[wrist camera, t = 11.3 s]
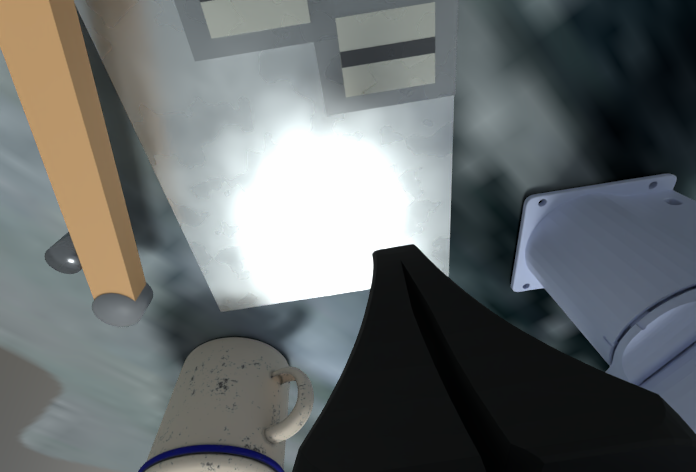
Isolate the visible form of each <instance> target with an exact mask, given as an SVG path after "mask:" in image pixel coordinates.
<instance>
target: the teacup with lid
mask: <svg viewBox="0 0 696 472" xmlns="http://www.w3.org/2000/svg"><path fill="white" fill-rule="evenodd" d="M290 381H296V382H297V386H298V398H297V402H296V405H295V407H294V409H293V410H292V412H291V413H290V414H289V415H288V417H287V413H288V399H289V385H290ZM313 400H314V394H313V387H312V384H311V382H310V380H309V378H308V377H307V375H306V374H305V373H303V372H302V371H301V370H300V369H298V368H296V367H289V365H288V363H287V361H286V359H285V358H284V356H283V355H282V354H281V353H280V352H279V351H277V350H276V349H275V348H273V347H272V346H270V345H268V344H266V343H263V342H261V341H258V340H254V339H249V338H242V337H226V338H219V339H215V340H212V341H209V342H206V343H204V344H202V345H200V346H198V347H197V348H196V349H194V350H193V351H192V352H191V353H190V354H189V355H188V357H187V358H186V360H185V362H184V364H183V367H182V370H181V372H180V375H179V378H178V380H177V383H176V385H175V388H174V391H173V393H172V396H171V399H170V401H169V404H168V406H167V409H166V412H165V414H164V417H163V420H162V422H161V425H160V427H159V430H158V433H157V435H156V438H155V441H154V443H153V446H152V448H151V451H150V454H149V456H148V459H147V462H146V463H145V464H144V465H143V466H142V467H141V468H140V470H139V471H138V472H284V470H283V469H284V455H285V441H286V439H288V438H290V437H291V436H293V435H294V434H296V433H297V432H298V431H299V430H300V429H301V428H302V427H303V425H304V424H305V423H306V421H307V419H308V418H309V416H310V413H311V411H312V407H313Z"/></svg>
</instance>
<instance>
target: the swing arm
mask: <svg viewBox="0 0 696 472" xmlns="http://www.w3.org/2000/svg"><path fill="white" fill-rule="evenodd" d="M0 47H1V50H2V52H3V55H4V58H5V60H6V63H7V66H8V69H9V71H10V74H11V77H12V79H13V82H14V85H15V87H16V90H17V93H18V96H19V98H20V101H21V104H22V106H23V109H24V112H25V114H26V117H27V120H28V123H29V125H30V128H31V131H32V133H33V136H34V139H35V141H36V144H37V147H38V150H39V152H40V155H41V158H42V160H43V163H44V166H45V168H46V171H47V174H48V177H49V179H50V182H51V185H52V187H53V190H54V193H55V195H56V198H57V201H58V203H59V206H60V209H61V212H62V214H63V217H64V220H65V222H66V225H67V228H68V230H69V233H70V236H71V239H72V241H73V244H74V247H75V249H76V252H77V255H78V257H79V260H80V263H81V266H82V268H83V271H84V274H85V276H86V279H87V282H88V284H89V287H90V290H91V293H92V295H93V298H94V302H93V304H92V310H93V312H94V314H95V315H96V317H97V318H99V319H100V320H101V321H103V322H104V323H106V324H109V325H112V326H116V327H129V326H133V325H135V324H137V323H138V322H139V321H140V319H141V317H142V316H143V314H144V312H145V311H146V309H147V307H148V305H149V304H150V302H151V300H152V298H153V291H152V289H151V287H150V286H149V285H148V284H147V283H146V281H145V277H144V274H143V270H142V266H141V262H140V258H139V254H138V250H137V246H136V242H135V238H134V234H133V230H132V227H131V223H130V219H129V215H128V211H127V207H126V203H125V199H124V195H123V191H122V187H121V183H120V179H119V176H118V172H117V168H116V164H115V160H114V156H113V152H112V148H111V144H110V140H109V136H108V132H107V128H106V125H105V121H104V117H103V113H102V109H101V105H100V101H99V97H98V93H97V89H96V85H95V81H94V78H93V74H92V70H91V66H90V62H89V58H88V54H87V50H86V46H85V42H84V38H83V34H82V30H81V27H80V23H79V19H78V15H77V11H76V7H75V3H74V0H0Z"/></svg>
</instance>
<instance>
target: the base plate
mask: <svg viewBox="0 0 696 472" xmlns="http://www.w3.org/2000/svg"><path fill="white" fill-rule="evenodd" d="M74 3H75V5H76V7H77V9H78V12H79V14H80V16H81V18H82V20H83V22H84V24H85V26H86V28H87V30H88V33H89V35H90V37H91V39H92V41H93V43H94V45H95V47H96V49H97V52H98V54H99V56H100V58H101V60H102V62H103V64H104V66H105V68H106V71H107V73H108V75H109V77H110V79H111V81H112V83H113V85H114V87H115V89H116V92H117V94H118V96H119V98H120V100H121V102H122V104H123V106H124V108H125V111H126V113H127V115H128V117H129V119H130V121H131V123H132V125H133V127H134V130H135V132H136V134H137V136H138V138H139V140H140V142H141V144H142V146H143V148H144V151H145V153H146V155H147V157H148V159H149V161H150V163H151V165H152V167H153V170H154V172H155V174H156V176H157V178H158V180H159V182H160V184H161V186H162V189H163V191H164V193H165V195H166V197H167V199H168V201H169V203H170V205H171V207H172V210H173V212H174V214H175V216H176V218H177V220H178V222H179V224H180V226H181V229H182V231H183V233H184V235H185V237H186V239H187V241H188V243H189V245H190V248H191V250H192V252H193V254H194V256H195V258H196V260H197V262H198V264H199V266H200V269H201V271H202V273H203V275H204V277H205V279H206V281H207V283H208V285H209V288H210V290H211V292H212V294H213V296H214V298H215V300H216V302H217V304H218V307H219V309H220V311H221V312H225V311H232V310H238V309H245V308H251V307H257V306H264V305H270V304H276V303H283V302H289V301H295V300H302V299H308V298H315V297H321V296H327V295H334V294H340V293H346V292H353V291H359V290H365V289H370V288H371V283H372V275H373V259H372V253H373V252H374V251H375V250H379V249H385V248H391V247H398V246H404V245H410V244H414V245H415V246H417V247H418V248H419V249H420V250H421V251H422V252H423V253H424V255H425V256H426V257H427V258H428V259H429V260H430V261H431V262H432V263H434V264H435V265H436V266H437V267H438V268H439V269H440V270H441V271H442V272H443V273H444V274H445V275H446V276H449V248H450V215H451V181H452V148H453V115H454V95H455V90H456V58H457V27H458V0H74ZM45 260H46V262H47V263H48V264H49V266H51V267H52V268H53V269H55V270H57V271H59V272H62V273H66V274H73V273H77V272H79V271H80V270H81V269H82V266H81V263H80V260H79V257H78V255H77V252H76V249H75V247H74V244H73V241H72V239H71V236H70V233H69V232H68V233H67V234H65V235H64V236H63V237H62V238H61V239H60V240H59V241H57V242H56V243H55V244H54V245H53V246H52V247H51V248H49V249H48V250H47V251H46V253H45Z"/></svg>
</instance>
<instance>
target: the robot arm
mask: <svg viewBox="0 0 696 472" xmlns="http://www.w3.org/2000/svg"><path fill="white" fill-rule="evenodd" d="M676 180H677V178H676V176H675V175H673V174H670V173H666V174H659V175H653V176H647V177H641V178H634V179H628V180H622V181H615V182H609V183H603V184H597V185H590V186H584V187H578V188H571V189H565V190H559V191H552V192H546V193H540V194H534V195H530V196H529V197H527V198H526V199H525V201H524V206H523V212H522V218H521V224H520V231H519V237H518V243H517V249H516V256H515V262H514V268H513V274H512V280H511V288H512V289H513V291H515V292H521V291H527V290H533V289H540V288H545V289H546V291H547V292H548V293H549V294H550V295H551V297H552V298H553V299H554V300H555V301H556V303H557V304H558V305H559V306H560V307H561V309H562V310H563V311H564V312H565V313H566V314H567V316H568V317H569V318H570V319H571V320H572V322H573V323H574V324H575V325H576V326H577V328H578V329H579V330H580V331H581V332H582V333H583V335H584V336H585V337H586V338H587V339H588V341H589V342H590V343H591V344H592V345H593V347H594V348H595V349H596V350H597V351H598V352H599V354H600V355H601V356H602V357H603V358H604V360H605V361H606V362H607V363H608V364H609V366H610V367H609V369H608V370H607V371H606V372H603V371H601V370H598V369H596V368H594V367H592V366H590V365H588V364H585V363H583V362H581V361H579V360H577V359H575V358H573V357H571V356H568V355H566V354H564V353H562V352H560V351H558V350H557V349H555V348H553V347H551V346H549V345H547V344H545V343H543V342H542V341H540V340H538V339H536V338H534V337H532V336H531V335H529V334H527V333H525V332H523V331H522V330H520V329H518V328H517V327H515V326H513V325H512V324H510V323H508V322H507V321H505V320H504V319H502V318H501V317H499V316H498V315H496V314H495V313H493V312H492V311H490V310H489V309H488V308H486V307H485V306H483V305H482V304H481V303H479V302H478V301H477V300H475V299H474V298H473V297H472V296H470V295H469V294H468V293H466V292H465V291H464V290H463V289H462V288H460V287H459V286H458V285H457V284H456V283H454V282H453V281H452V280H451V279H450V278H449V277H448V276H446V275H445V274H444V273H443V272H442V271H441V270H440V269H439V268H438V267H437V266H436V265H435V264H434V263H432V262H431V261H430V260H429V259H428V258H427V257H426V256H425V255H424V253H423V252H422V251H421V250H420V249H419V248H418V247H417V246H415V245H414V244H410V245H404V246H398V247H391V248H385V249H379V250H375V251H374V252H373V253H372V259H373V275H372V283H371V288H370V294H369V299H368V303H367V307H366V311H365V314H364V318H363V321H362V325H361V328H360V331H359V334H358V336H357V339H356V342H355V344H354V347H353V349H352V352H351V354H350V357H349V359H348V361H347V364H346V366H345V368H344V370H343V372H342V374H341V377H340V379H339V380H338V382H337V384H336V386H335V388H334V390H333V392H332V394H331V396H330V398H329V399H328V401H327V403H326V405H325V407H324V409H323V410H322V412H321V414H320V415H319V417H318V419H317V420H316V422H315V424H314V425H313V427H312V428H311V430H310V432H309V433H308V435H307V436H306V438H305V440H304V441H303V443H302V444H301V446H300V448H299V450H298V454H297V457H296V460H295V464H294V467H293V471H292V472H696V201H694V200H692V199H690V198H688V197H686V196H684V195H682V194H680V193H678V192H676V191H674V190H673V188H674V186H675V183H676ZM542 199H543V201H542V202H541V203H539V201H540V200H542ZM538 203H539V204H538Z"/></svg>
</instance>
